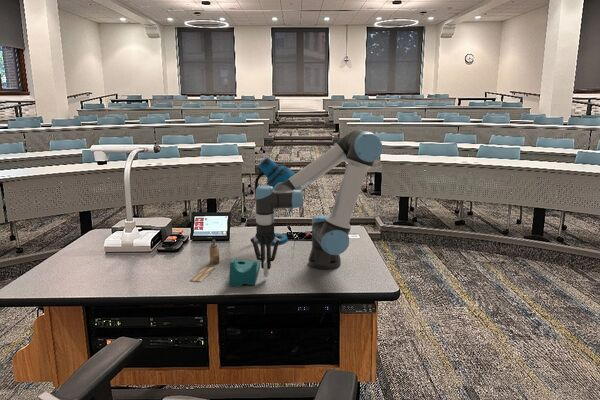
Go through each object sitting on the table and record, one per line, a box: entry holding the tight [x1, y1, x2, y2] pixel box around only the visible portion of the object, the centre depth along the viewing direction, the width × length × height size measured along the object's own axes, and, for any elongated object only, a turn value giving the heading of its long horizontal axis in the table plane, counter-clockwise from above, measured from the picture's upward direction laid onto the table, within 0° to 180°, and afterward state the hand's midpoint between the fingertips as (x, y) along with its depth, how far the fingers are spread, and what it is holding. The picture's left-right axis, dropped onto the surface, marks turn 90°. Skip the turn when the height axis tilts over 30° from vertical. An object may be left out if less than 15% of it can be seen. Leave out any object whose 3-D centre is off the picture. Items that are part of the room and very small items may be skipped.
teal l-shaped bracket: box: [228, 258, 261, 288], centre depth 210 cm, size 18×11×10 cm, turn 178°
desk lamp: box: [254, 157, 297, 246], centre depth 256 cm, size 16×22×45 cm
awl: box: [208, 239, 220, 265], centre depth 228 cm, size 4×4×11 cm
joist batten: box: [189, 266, 216, 283], centre depth 215 cm, size 5×16×1 cm, turn 168°
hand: (266, 275), depth 208 cm, fingers closed
